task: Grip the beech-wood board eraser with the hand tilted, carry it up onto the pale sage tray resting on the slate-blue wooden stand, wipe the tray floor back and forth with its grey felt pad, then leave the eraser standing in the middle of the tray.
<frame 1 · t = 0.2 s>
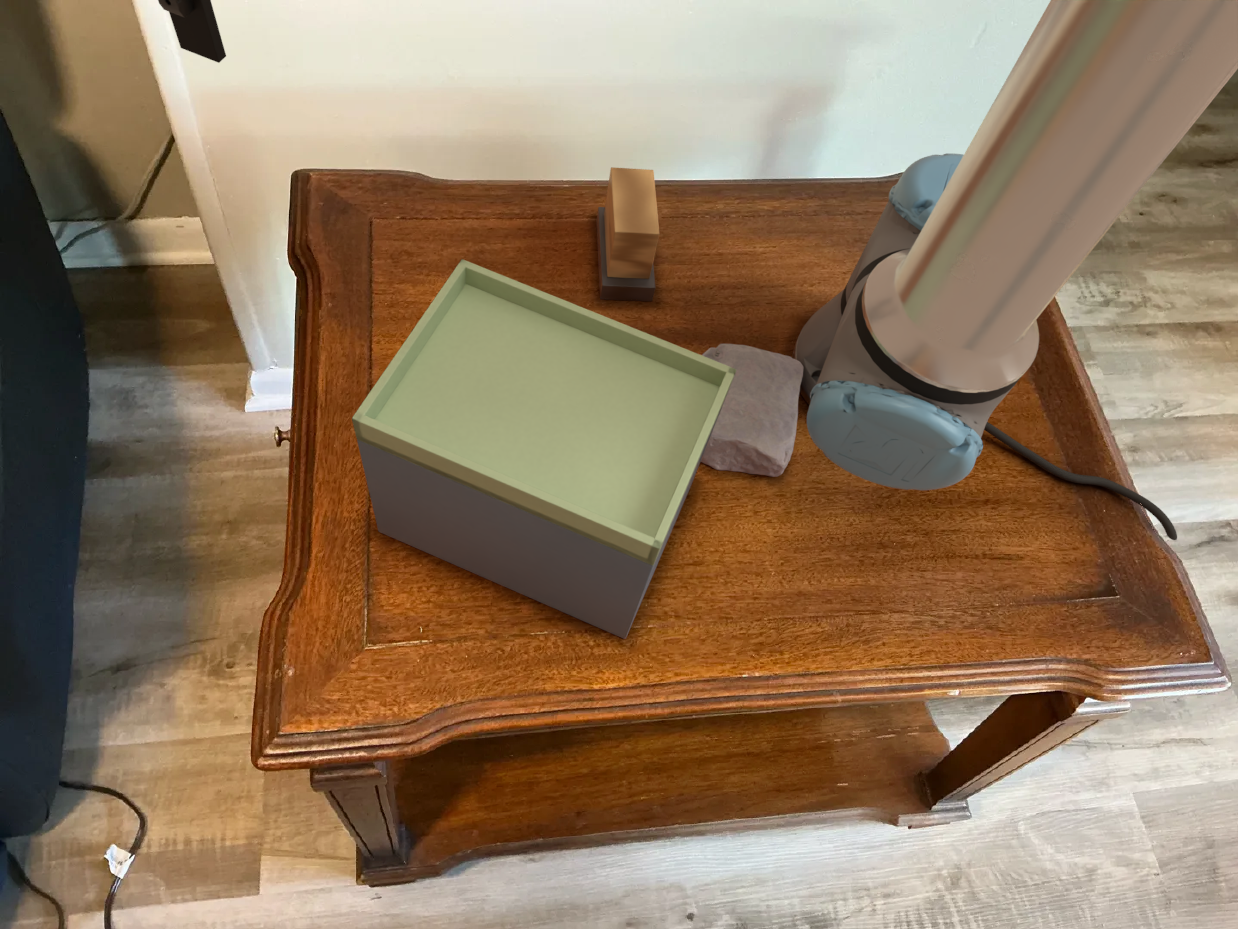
stone block: (734, 417, 83), on the table
stand: (540, 506, 76), on the table
tray: (550, 413, 64), resting on stand
eraser: (623, 260, 90), on the table
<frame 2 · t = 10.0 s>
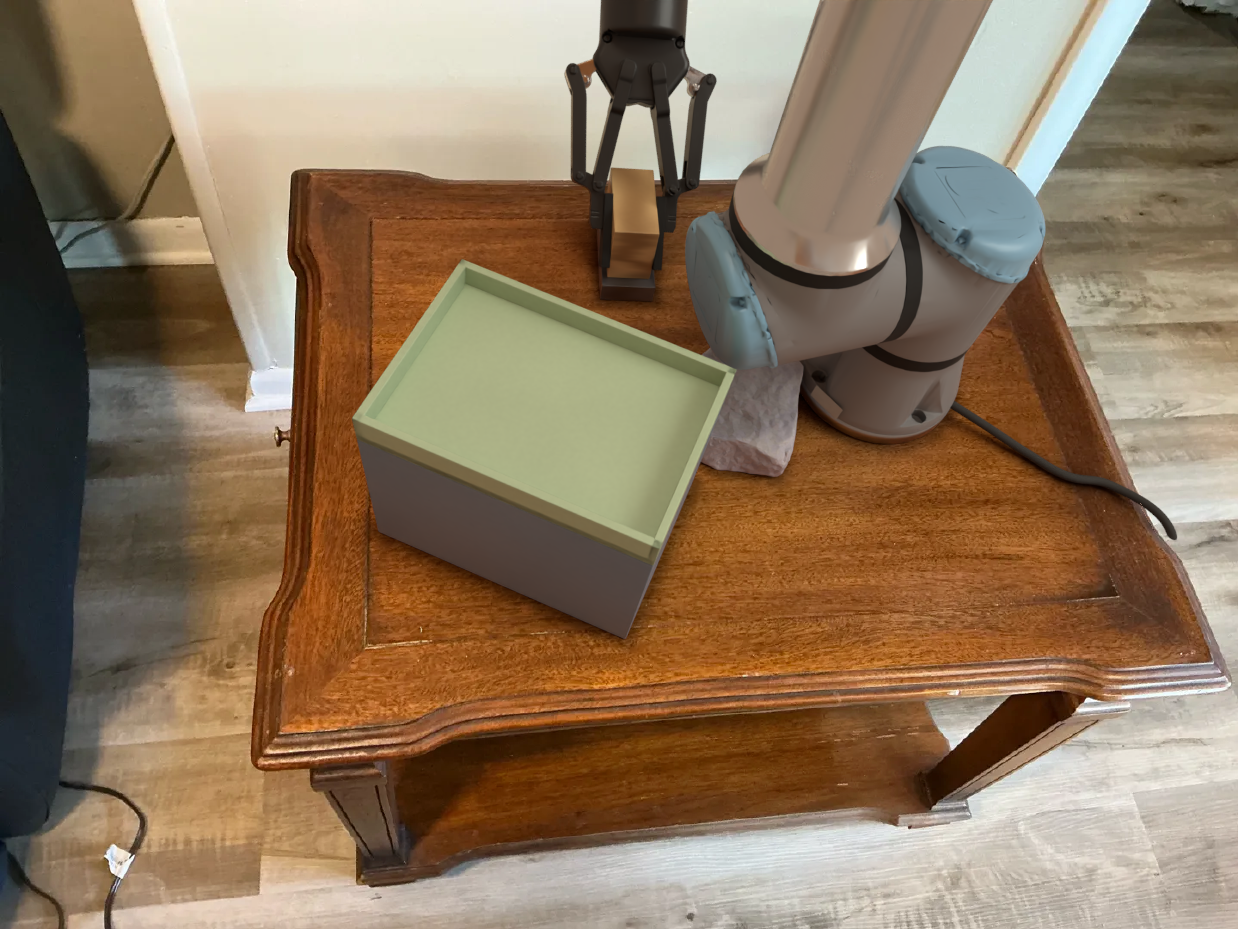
hand: (629, 267, 86), 3 cm above the table, tool tilted 45°, fingers closed on eraser, 4 cm apart
eraser: (623, 260, 90), on the table, touching gripper
everything else where it was.
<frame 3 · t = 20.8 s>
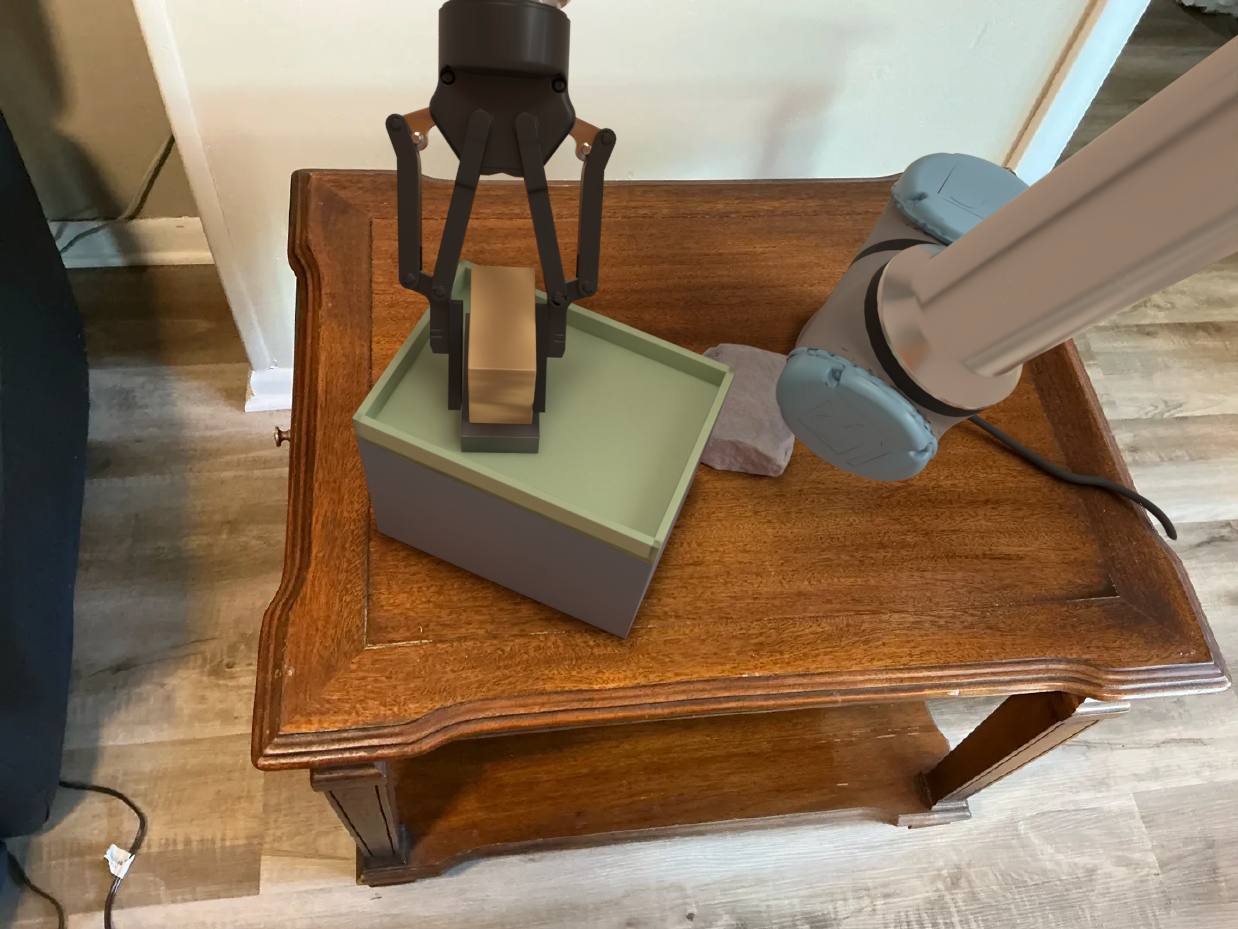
hand: (497, 406, 59), 18 cm above the table, tool tilted 45°, fingers closed on eraser, 4 cm apart
eraser: (500, 390, 63), point 15 cm above the table, touching gripper, tray
everything else where it was.
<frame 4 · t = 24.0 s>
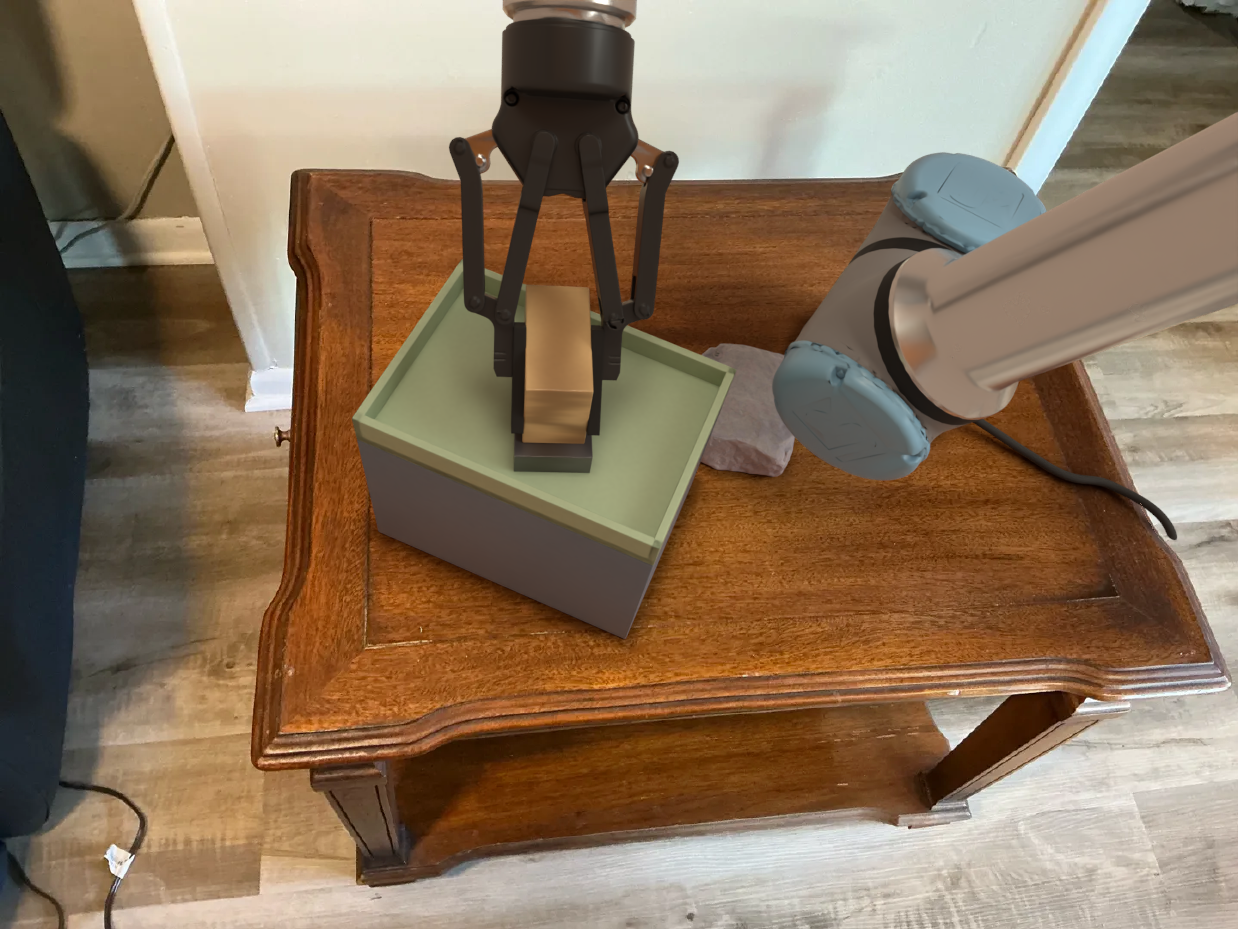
hand: (554, 428, 59), 18 cm above the table, tool tilted 45°, fingers closed on eraser, 4 cm apart
eraser: (551, 408, 63), point 15 cm above the table, touching gripper, tray
everything else where it was.
when the fingers open (18 cm above the table, at t = 24.1 s): eraser stays where it is, resting on tray.
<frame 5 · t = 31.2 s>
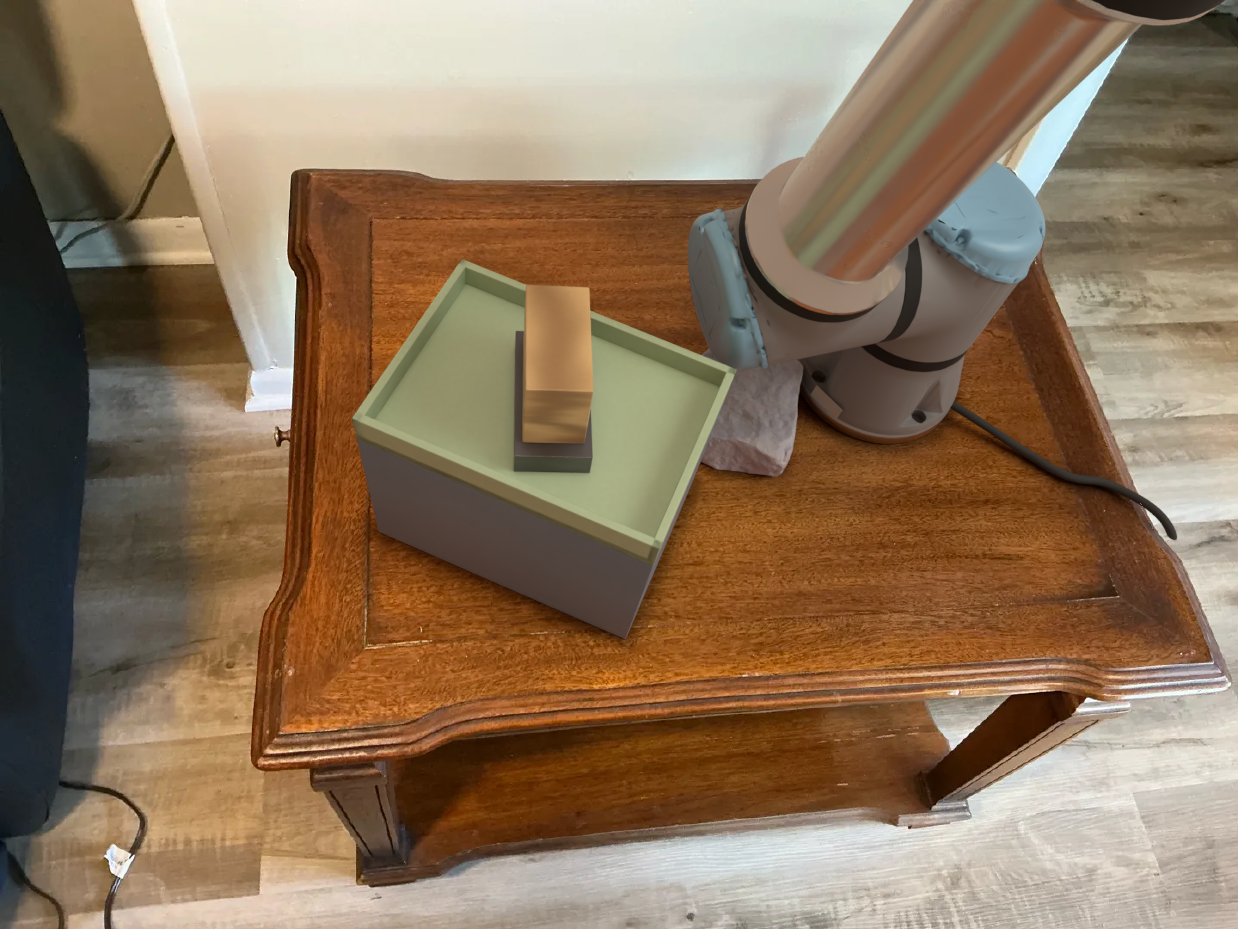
eraser: (551, 408, 63), point 15 cm above the table, touching tray
everything else where it was.
at the end: eraser inside the target area on the tray (0.1 cm from its centre), point 0.8 cm above the tray's base; eraser tilted 0°; the gripper is holding nothing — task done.
